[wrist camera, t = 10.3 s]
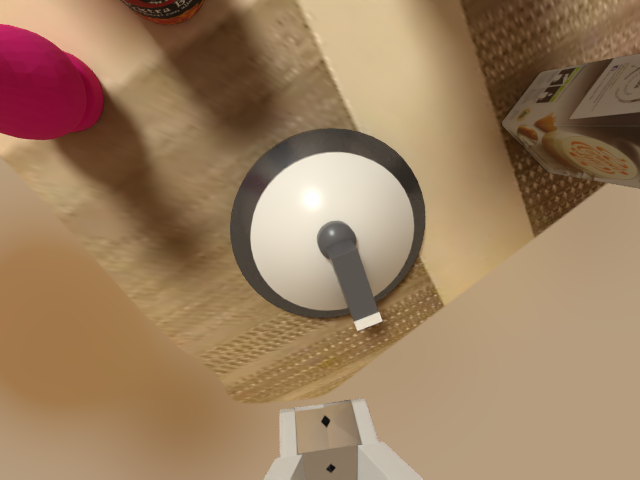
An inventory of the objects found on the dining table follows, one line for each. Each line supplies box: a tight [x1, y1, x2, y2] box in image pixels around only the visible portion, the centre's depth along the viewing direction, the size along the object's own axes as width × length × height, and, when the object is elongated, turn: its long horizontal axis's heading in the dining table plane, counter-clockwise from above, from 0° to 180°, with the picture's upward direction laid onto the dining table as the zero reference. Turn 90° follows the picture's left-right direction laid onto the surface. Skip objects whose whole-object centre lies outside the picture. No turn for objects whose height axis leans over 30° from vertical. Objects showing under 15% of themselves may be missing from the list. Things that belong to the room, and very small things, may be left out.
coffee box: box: [502, 53, 640, 188], centre depth 26 cm, size 9×6×16 cm
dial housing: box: [230, 128, 425, 318], centre depth 32 cm, size 20×20×3 cm
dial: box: [250, 152, 414, 331], centre depth 29 cm, size 16×16×6 cm
